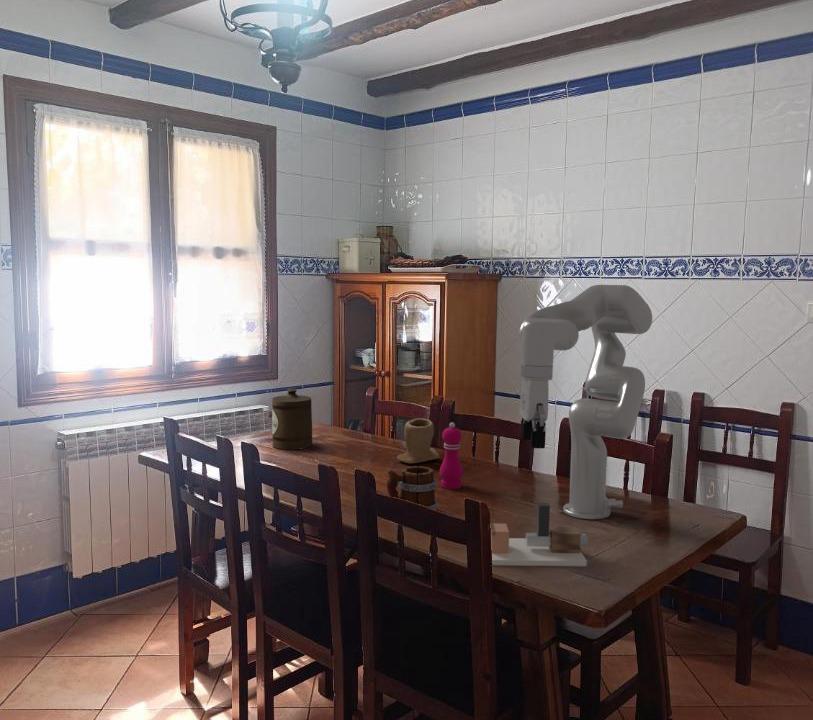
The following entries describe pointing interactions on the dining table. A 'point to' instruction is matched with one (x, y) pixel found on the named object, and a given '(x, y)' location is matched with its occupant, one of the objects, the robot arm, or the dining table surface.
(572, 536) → the walnut sleeve
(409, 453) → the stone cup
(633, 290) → the robot arm
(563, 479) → the dining table surface
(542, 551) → the cream board
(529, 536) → the grey piece
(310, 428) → the wooden container
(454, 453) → the pepper mill
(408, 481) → the mug
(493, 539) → the terracotta socket
